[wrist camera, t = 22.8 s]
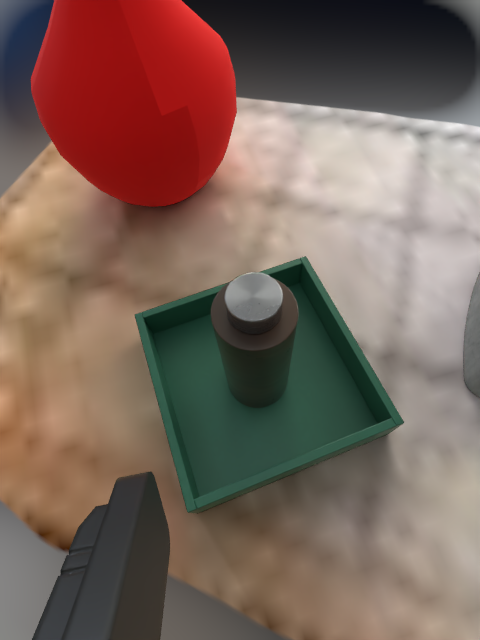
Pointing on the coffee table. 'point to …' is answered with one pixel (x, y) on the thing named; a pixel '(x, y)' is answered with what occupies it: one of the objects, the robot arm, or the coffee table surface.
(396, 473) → the coffee table surface
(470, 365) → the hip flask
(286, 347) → the pepper mill
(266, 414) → the tray
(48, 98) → the vase
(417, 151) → the coffee table surface
